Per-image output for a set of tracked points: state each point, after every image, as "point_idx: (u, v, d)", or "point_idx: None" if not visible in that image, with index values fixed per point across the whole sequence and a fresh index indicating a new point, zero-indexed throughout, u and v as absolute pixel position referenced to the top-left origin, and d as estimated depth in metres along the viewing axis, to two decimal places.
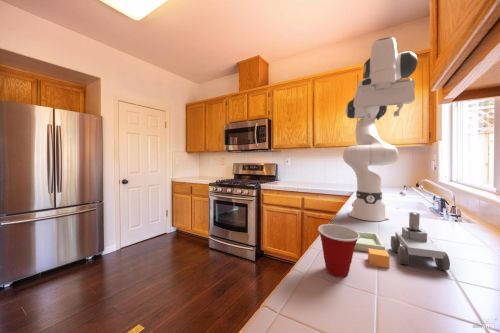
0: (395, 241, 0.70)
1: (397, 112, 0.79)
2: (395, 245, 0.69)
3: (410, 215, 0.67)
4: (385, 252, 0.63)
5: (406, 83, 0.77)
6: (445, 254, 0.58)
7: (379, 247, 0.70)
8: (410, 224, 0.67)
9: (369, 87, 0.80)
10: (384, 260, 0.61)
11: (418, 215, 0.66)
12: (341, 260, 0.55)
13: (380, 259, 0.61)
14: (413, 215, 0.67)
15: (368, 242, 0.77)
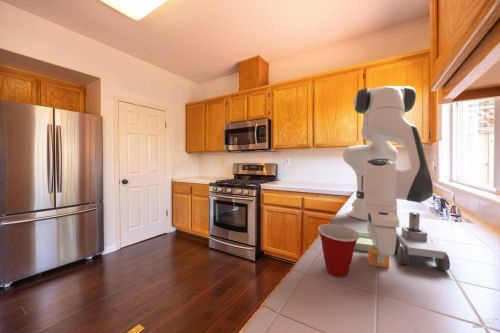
0: None
1: None
2: None
3: (410, 215, 0.67)
4: None
5: None
6: (445, 254, 0.58)
7: None
8: (410, 224, 0.67)
9: None
10: (384, 259, 0.61)
11: (418, 215, 0.66)
12: (341, 260, 0.55)
13: None
14: (413, 215, 0.67)
15: (368, 242, 0.77)
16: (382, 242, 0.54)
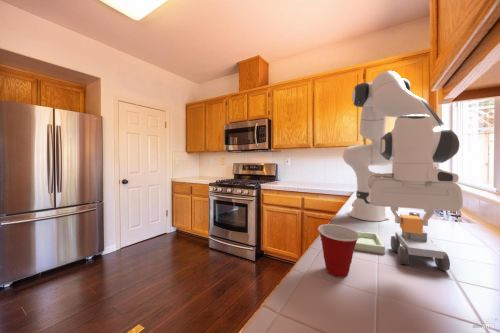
0: (395, 241, 0.70)
1: None
2: (395, 245, 0.69)
3: None
4: (408, 215, 0.59)
5: None
6: (445, 254, 0.58)
7: (379, 247, 0.70)
8: None
9: None
10: None
11: (418, 215, 0.66)
12: (341, 260, 0.55)
13: None
14: (413, 215, 0.67)
15: (368, 242, 0.77)
16: None
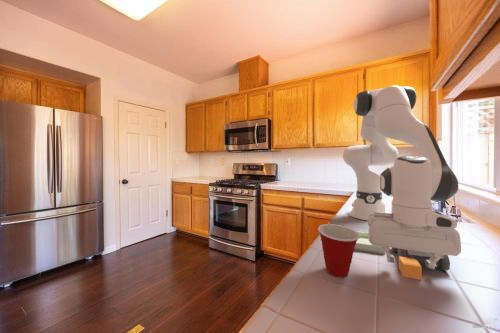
0: None
1: None
2: None
3: None
4: (406, 258, 0.59)
5: None
6: None
7: (379, 247, 0.70)
8: None
9: None
10: None
11: None
12: (341, 260, 0.55)
13: None
14: None
15: (368, 242, 0.77)
16: None
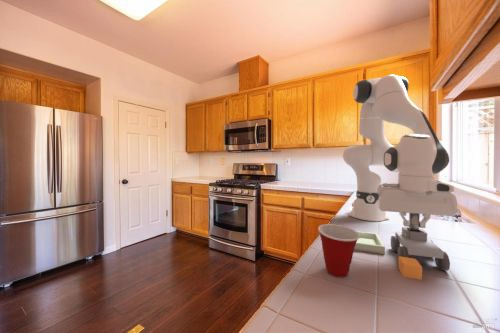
0: (395, 241, 0.70)
1: None
2: (395, 245, 0.69)
3: (410, 215, 0.67)
4: (406, 258, 0.59)
5: None
6: (445, 254, 0.58)
7: (379, 247, 0.70)
8: (410, 224, 0.67)
9: None
10: None
11: (418, 215, 0.66)
12: (341, 260, 0.55)
13: None
14: (413, 215, 0.67)
15: (368, 242, 0.77)
16: None
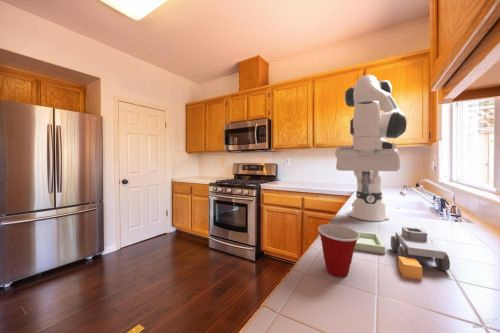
0: (395, 241, 0.70)
1: None
2: (395, 245, 0.69)
3: (362, 173, 0.76)
4: (406, 258, 0.59)
5: None
6: (445, 254, 0.58)
7: (379, 247, 0.70)
8: (362, 181, 0.76)
9: None
10: None
11: (368, 172, 0.75)
12: (341, 260, 0.55)
13: None
14: (364, 173, 0.75)
15: (368, 242, 0.77)
16: None
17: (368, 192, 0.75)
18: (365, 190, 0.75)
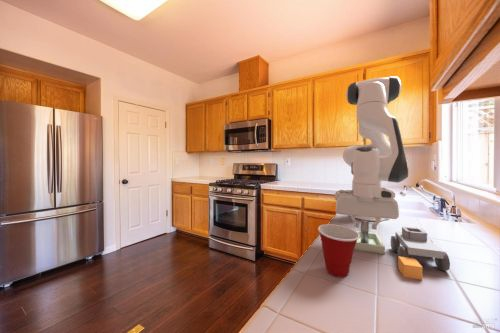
0: (395, 241, 0.70)
1: None
2: (395, 245, 0.69)
3: (361, 223, 0.77)
4: (406, 258, 0.59)
5: None
6: (445, 254, 0.58)
7: (379, 247, 0.70)
8: (361, 231, 0.77)
9: None
10: None
11: (367, 223, 0.76)
12: (341, 260, 0.55)
13: None
14: (363, 223, 0.76)
15: None
16: None
17: (367, 242, 0.76)
18: (364, 241, 0.76)
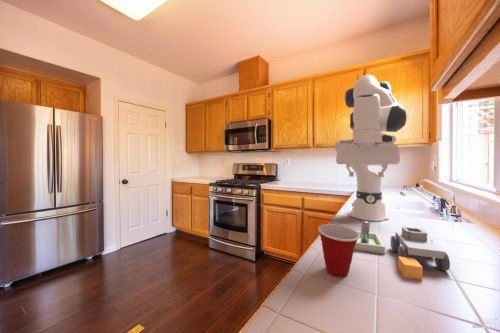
0: (395, 241, 0.70)
1: None
2: (395, 245, 0.69)
3: (362, 223, 0.76)
4: (406, 258, 0.59)
5: None
6: (445, 254, 0.58)
7: (379, 247, 0.70)
8: (362, 231, 0.77)
9: None
10: None
11: (368, 224, 0.75)
12: (341, 260, 0.55)
13: None
14: (364, 223, 0.76)
15: None
16: None
17: (367, 242, 0.76)
18: (364, 241, 0.76)
